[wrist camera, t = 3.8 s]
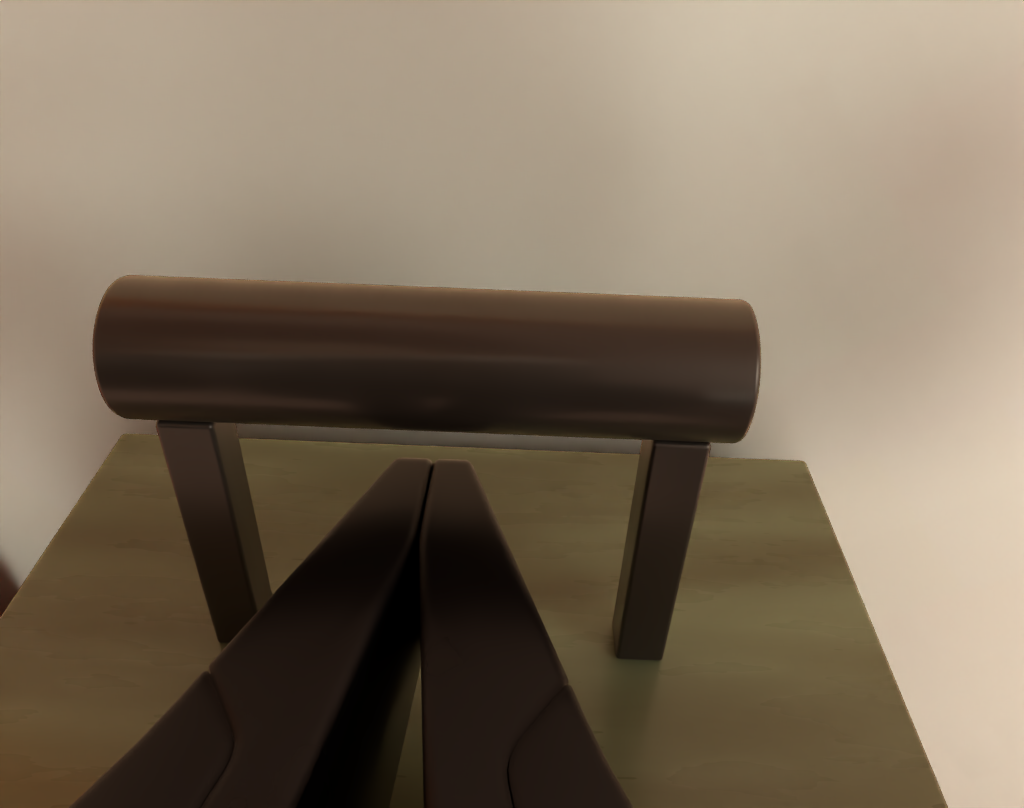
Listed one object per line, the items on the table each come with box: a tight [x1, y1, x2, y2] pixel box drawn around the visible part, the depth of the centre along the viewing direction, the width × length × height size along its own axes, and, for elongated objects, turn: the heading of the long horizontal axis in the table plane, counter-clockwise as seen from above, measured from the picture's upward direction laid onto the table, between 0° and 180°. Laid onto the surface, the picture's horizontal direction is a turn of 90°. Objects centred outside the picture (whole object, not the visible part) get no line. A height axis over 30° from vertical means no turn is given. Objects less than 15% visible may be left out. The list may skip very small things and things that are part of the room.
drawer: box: [0, 275, 948, 808], centre depth 13 cm, size 17×11×7 cm, turn 178°
